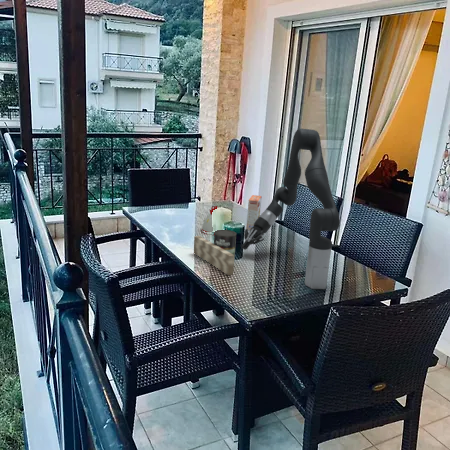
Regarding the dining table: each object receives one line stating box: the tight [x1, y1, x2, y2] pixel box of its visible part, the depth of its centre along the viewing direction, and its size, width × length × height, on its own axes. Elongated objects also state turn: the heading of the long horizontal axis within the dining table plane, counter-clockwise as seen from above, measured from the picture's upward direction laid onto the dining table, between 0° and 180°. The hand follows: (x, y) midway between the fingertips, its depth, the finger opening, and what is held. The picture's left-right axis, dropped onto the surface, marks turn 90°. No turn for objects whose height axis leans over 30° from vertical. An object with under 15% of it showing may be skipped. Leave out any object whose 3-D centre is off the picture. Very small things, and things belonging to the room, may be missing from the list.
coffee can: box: [213, 229, 237, 257], centre depth 211 cm, size 10×10×14 cm
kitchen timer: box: [201, 205, 218, 232], centre depth 256 cm, size 14×14×15 cm
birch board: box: [193, 235, 235, 276], centre depth 208 cm, size 30×2×9 cm, turn 34°
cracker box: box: [245, 194, 262, 230], centre depth 257 cm, size 14×6×21 cm, turn 168°
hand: (243, 248), depth 217 cm, fingers closed
